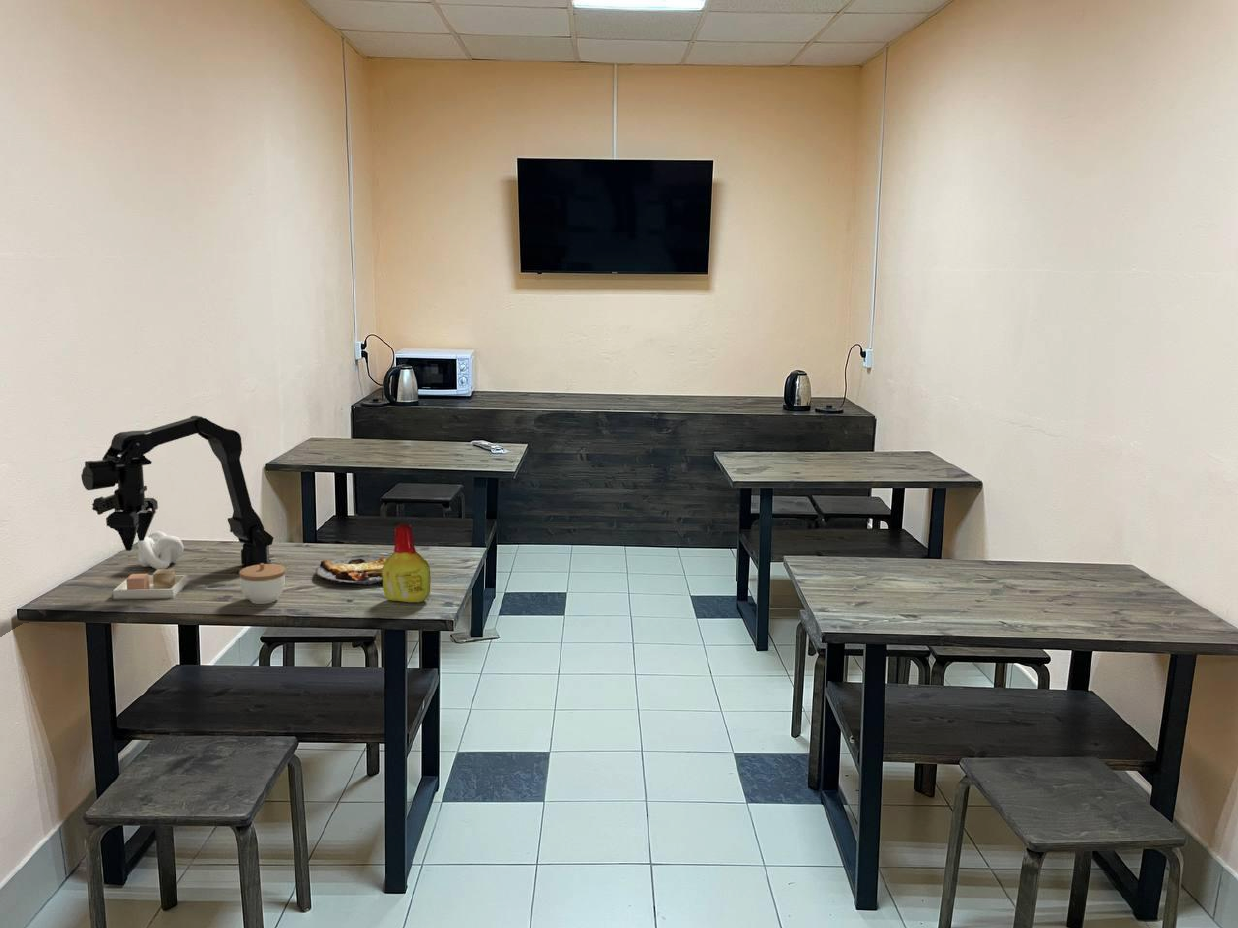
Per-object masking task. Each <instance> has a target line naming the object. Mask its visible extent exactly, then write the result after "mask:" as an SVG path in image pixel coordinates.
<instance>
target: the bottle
mask: <svg viewBox="0 0 1238 928" xmlns="http://www.w3.org/2000/svg"><path fill="white" fill-rule="evenodd" d="M415 547H416V546H415V544H414V534H413V528H412V525H410V524H409V523H399V524H397V525H396V526H395V528H394V548H393V553H392V554H391V555H390V557H389V558H388V559H387V560H386V562H385V563H384V565H383V569H382V576H381V579H383V581H382V587H383V589H382V590H383V593H384V597H386V599H387V600H389V601H394V602H395V601H397V602H405V603H422V602H423V601H425V600H426V598H427V597H428V596H429V595H430V594H431V568H430V564H429V563H428V561H427V560H426V559H425V558H423V556H421V554H420V553H418V552H417V551H416V548H415Z"/></svg>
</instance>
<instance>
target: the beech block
mask: <svg viewBox="0 0 1238 928" xmlns="http://www.w3.org/2000/svg"><path fill="white" fill-rule="evenodd" d="M175 571H176V570H175V568H166V569H156V570H155V571H154V572H153V573H152V575H153V585H154V589H171V588H172V587H173V586H174V585H175V575H176V574H175Z"/></svg>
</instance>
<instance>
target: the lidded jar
mask: <svg viewBox="0 0 1238 928" xmlns="http://www.w3.org/2000/svg"><path fill="white" fill-rule="evenodd" d="M238 574H239V581H240V589H241V591H242V593H243V595H244V596H245V598H246V599H247V600H249V601H250V603H251V604H255V605H266V604H271V603H273V602H276V601H277V599H278V597H280V595H281V594H282V593H283V590H284V589H285V583H286V567H284V566H283V565H279V564H275V563H270V564H264V563H261V564H259V565H253V566H249V567H246V568H242V569H240V570H239V572H238Z"/></svg>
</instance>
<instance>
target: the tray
mask: <svg viewBox="0 0 1238 928" xmlns="http://www.w3.org/2000/svg"><path fill="white" fill-rule="evenodd" d="M188 581H189V580H188V574H175V585H174V586H173V587H172V588H171V589H154V585H153V574H152V575H151V574H150V575H149V587H150V589H131V590H127V580H126V579H125V580H124V581H122V582H121V583H120V584H119V585H118V586H116V588H114V589H113V590H112V595H113V597H112V598H113V600H127V599H128V600H130V599H131V600H133V599H134V600H135V599H136V600H138V599H143V600H144V599H175V598H176V596H177V595H178V594H180V592H181V591H182V590H183V589H184V588H185V587H186V586H187V584H188V583H189V582H188Z"/></svg>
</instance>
